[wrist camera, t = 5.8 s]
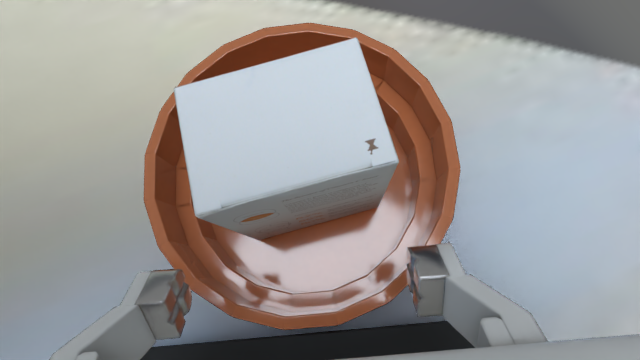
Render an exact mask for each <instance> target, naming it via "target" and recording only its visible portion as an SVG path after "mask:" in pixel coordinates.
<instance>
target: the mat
mask: <svg viewBox="0 0 640 360" xmlns="http://www.w3.org/2000/svg"><path fill="white" fill-rule="evenodd" d="M468 348H475V347H474V346H473V345H472V344H471V343H470V342H469V341H468V340H467V339H466V338H465V337H463V336H462V335H461V334H460V333H459V332H458V331H457V330H456V329H455V328H454V327H453V326H452V325H451V324H450V323H449V322H448V321H442V322H430V323H419V324H408V325H396V326H385V327H374V328H362V329H351V330H340V331H329V332H317V333H306V334H295V335H283V336H272V337H261V338H250V339H238V340H227V341H216V342H204V343H193V344H182V345H170V346H159V347H151V348H150V349H149V350H148V352H147V353H146V354H145V355H144V356H143V357H142V358H141V359H140V360H336V359H348V358H361V357H373V356H385V355H397V354H408V353H420V352H432V351H444V350H456V349H468Z"/></svg>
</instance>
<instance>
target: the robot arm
mask: <svg viewBox="0 0 640 360" xmlns="http://www.w3.org/2000/svg"><path fill="white" fill-rule="evenodd" d="M407 259H408V262H409V263H408V264H407V265H406V269H407V281H408V286H409V289H410V292H411V293H413V303H414V306H415V310H416V313H417V316H418V317H426V316H443V318H444V319H446V320H447V321H448V322H449V323H450V324H451V325H452V326H453V327H454V328H455V329H456V330H457V331H458V332H459V333H460V334H461V335H462V336H463V337H465V338H466V339H467V340H468V341H469V342H470V343H471V344H472V345H473V346H474V347H475V348H468V349H456V350H444V351H432V352H420V353H408V354H397V355H385V356H373V357H361V358H348V359H336V360H640V334H636V335H624V336H612V337H600V338H588V339H576V340H564V341H552V342H548V341H547V339H546V337H545V336H544V334H543V332H542V331H541V329H540V327H539V326H538V324H537V322H536V321H535V319H534V318H533V316H532V314H531V313H530V312H528V311H527V310H525V309H524V308H522V307H521V306H519V305H517V304H516V303H514V302H513V301H511V300H510V299H508V298H507V297H505V296H503V295H502V294H500V293H499V292H497V291H496V290H494V289H492V288H491V287H489V286H488V285H486V284H485V283H483V282H482V281H480V280H478V279H477V278H475V277H474V276H472V275H466V273H465V271H464V269H463V267H462V265H461V263H460V261H459V259H458V256H457V254H456V252H455V250H454V248H453V246H452V244H451V243H442V244H435V245H425V246H415V247H407ZM185 277H186V276H185V274H184V272H183V270H182V269H169V270H155V271H144V272H139V273H138V274H137V275H136V276H135V278H134V280H133V282H132V284H131V286H130V287H129V289H128V291H127V293H126V295H125V296H124V298H123V300H122V302H121V304H120V306H118V307H114V308H113V309H111V310H110V311H109V312H107V313H106V314H105V315H103V316H102V317H101V318H99V319H98V320H97V321H96V322H94V323H93V324H92V325H90V326H89V327H88V328H86V329H85V330H84V331H82V332H81V333H80V334H78V335H77V336H76V337H74V338H73V339H72V340H70V341H69V342H68V343H66V344H65V345H64V346H62V347H61V348H60V349H58V350H57V351H56V352H54V353H53V354H52V356H51V357H50V359H49V360H140V359H141V358H142V357H143V356H144V355H145V354H146V353H147V352H148V350H149V349H150V348H151V347H152V346H153V345H154V344H155V343H156V340H164V339H173V338H180V336H181V334H182V331H183V328H184V325H185V319H184V316H185V315H186V314H187V313H188V312H189V310H190V307H191V301H192V294H191V289H190V287H189V285H188V284H186V283H185V282H184V279H185Z"/></svg>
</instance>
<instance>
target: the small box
mask: <svg viewBox="0 0 640 360" xmlns="http://www.w3.org/2000/svg"><path fill="white" fill-rule="evenodd" d="M174 95H175V101H176V107H177V113H178V119H179V125H180V131H181V137H182V143H183V149H184V155H185V161H186V166H187V172H188V178H189V184H190V190H191V195H192V201H193V207H194V213H195V216H196V217H198V218H200V219H203V220H205V221H208V222H211V223H213V224H216V225H219V226H221V227H224V228H226V229H229V230H232V231H235V232H238V233H240V234H243V235H246V236H248V237H251V238H254V239H257V240H262V239H265V238H269V237H272V236H276V235H279V234H283V233H287V232H290V231H294V230H298V229H301V228H305V227H308V226H312V225H316V224H319V223H323V222H327V221H330V220H334V219H338V218H341V217H345V216H348V215H352V214H356V213H359V212H363V211H367V210H371V209H375V208H378V206H379V204H380V202H381V200H382V198H383V195H384V193H385V191H386V189H387V187H388V185H389V182H390V180H391V178H392V176H393V174H394V172H395V169H396V167H397V165H398V163H399V159H398V156H397V153H396V150H395V147H394V144H393V141H392V138H391V135H390V132H389V129H388V127H387V124H386V121H385V118H384V115H383V112H382V109H381V106H380V103H379V100H378V97H377V94H376V91H375V88H374V85H373V82H372V79H371V76H370V73H369V70H368V67H367V64H366V61H365V58H364V55H363V52H362V49H361V46H360V43H359V40H358V39H357V38H356V37H355V38H351V39H348V40H344V41H341V42H337V43H333V44H330V45H326V46H323V47H319V48H315V49H312V50H308V51H305V52H301V53H298V54H294V55H291V56H287V57H284V58H280V59H276V60H273V61H269V62H265V63H262V64H258V65H255V66H251V67H248V68H244V69H240V70H237V71H233V72H229V73H226V74H222V75H218V76H215V77H211V78H208V79H204V80H200V81H197V82H193V83H189V84H186V85H182V86H178V87H175V88H174Z"/></svg>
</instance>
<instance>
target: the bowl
mask: <svg viewBox="0 0 640 360" xmlns="http://www.w3.org/2000/svg"><path fill="white" fill-rule="evenodd" d="M355 37H356V38H357V39H358V40H359V43H360V46H361V49H362V52H363V55H364V58H365V61H366V64H367V67H368V70H369V73H370V76H371V79H372V82H373V85H374V88H375V91H376V94H377V97H378V100H379V103H380V106H381V109H382V112H383V115H384V118H385V121H386V124H387V127H388V129H389V132H390V135H391V138H392V141H393V144H394V147H395V150H396V153H397V156H398V159H399V163H398V165H397V167H396V169H395V172H394V174H393V176H392V178H391V180H390V182H389V185H388V187H387V189H386V191H385V193H384V195H383V198H382V200H381V202H380V204H379V206H378V208H375V209H371V210H367V211H363V212H359V213H356V214H352V215H348V216H345V217H341V218H338V219H334V220H330V221H327V222H323V223H319V224H316V225H312V226H308V227H305V228H301V229H298V230H294V231H290V232H287V233H283V234H279V235H276V236H272V237H269V238H265V239H262V240H257V239H254V238H251V237H248V236H246V235H243V234H240V233H238V232H235V231H232V230H229V229H226V228H224V227H221V226H219V225H216V224H213V223H211V222H208V221H205V220H203V219H200V218H198V217H196V216H195V213H194V207H193V201H192V195H191V190H190V184H189V178H188V172H187V166H186V161H185V155H184V149H183V143H182V137H181V131H180V125H179V119H178V113H177V107H176V101H175V95H174V92H173V93H172V95H171V96H170V97H169V99H168V100H167V101H166V103H165V104H164V106H163V107H162V108H161V111H160V112H159V115H158V118H157V121H156V124H155V127H154V130H153V132H152V135H151V138H150V141H149V144H148V147H147V150H146V153H145V169H144V203H145V207H146V210H147V213H148V216H149V219H150V223H151V226H152V229H153V232H154V236H155V239H156V242H157V245H158V247H159V249H160V251H161V252H162V253H163V255H164V256H165V257H166V259H167V260H168V261H169V263H170V264H171V265H172V267H173V268H174V269H182V270H183V272H184V274H185V276H186V277H185V279H184V282H185V283H186V284H188V285H189V287H190V289H191V290H192V291H194V292H195V293H197V294H198V295H199V296H201V297H202V298H204V299H205V300H207V301H208V302H210V303H211V304H213V305H214V306H216V307H217V308H219V309H220V310H222V311H223V312H225V313H226V314H228V315H229V316H232V317H234V318H238V319H242V320H246V321H249V322H253V323H257V324H261V325H265V326H269V327H273V328H277V329H281V330H292V329H303V328H314V327H326V326H337V325H338V324H339V325H341V324H343V323H345V322H347V321H350V320H352V319H354V318H356V317H359V316H361V315H363V314H365V313H367V312H370V311H372V310H374V309H376V308H379V307H381V306H383V305H385V304H387V303H389V302H391V301H392V300H393V299H394V298H395V297H396V296H397V295H398V294H399V293H400V292H401V291H402V290H403V289H404V288H405V287H406V286H408V281H407V269H406V265H407V264H408V263H409V262H408V259H407V247H415V246H425V245H435V244H440V243H441V241H442V239H443V237H444V236H445V234H446V232H447V230H448V228H449V226H450V224H451V222H452V220H453V219H452V218H453V217H454V210H455V204H456V197H457V190H458V183H459V177H460V163H459V158H458V152H457V147H456V142H455V136H454V131H453V126H452V122H451V119H450V117H449V116H448V114H447V112H446V110H445V109H444V107H443V105H442V103H441V101H440V100H439V98H438V96H437V94H436V93H435V91H434V89H433V87H432V85H431V84H430V82H429V81H428V79H427V78H426V77H424V76H423V75H422V74H421V73H420V72H419V71H418V70H417V69H416V68H415V67H414V66H412V65H411V64H410V63H409V62H408V61H407V60H406V59H405V58H404V57H403V56H402V55H401V54H399V53H398V52H397V51H396V50H394V49H393V48H391V47H389V46H387V45H385V44H383V43H381V42H379V41H376V40H374V39H372V38H370V37H368V36H366V35H364V34H362V33H360V32H358V31H355V30H352V29H346V28H340V27H333V26H327V25H321V24H315V23H310V24H309V23H303V24H294V25H286V26H277V27H269V28H263V29H261V30H258V31H256V32H253V33H251V34H249V35H246V36H244V37H241V38H239V39H236V40H234V41H231V42H229V43H227V44H224V45H223V46H221V47H220V48H219V49H217V50H216V51H215V52H213V53H212V54H211V55H210V56H208V57H207V58H206V59H204V60H203V61H202V62H201V63H199V64H198V65H197V66H195V67H194V68H193V69H192V70H190V71H189V72H188V74H186V75H185V77H184V78H183V79H182V81H181V82H180V83H179V85H178V86H182V85H186V84H189V83H193V82H197V81H200V80H204V79H208V78H211V77H215V76H218V75H222V74H226V73H229V72H233V71H237V70H240V69H244V68H248V67H251V66H255V65H258V64H262V63H265V62H269V61H273V60H276V59H280V58H284V57H287V56H291V55H294V54H298V53H301V52H305V51H308V50H312V49H315V48H319V47H323V46H326V45H330V44H333V43H337V42H341V41H344V40H348V39H351V38H355ZM178 86H177V87H178Z"/></svg>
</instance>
